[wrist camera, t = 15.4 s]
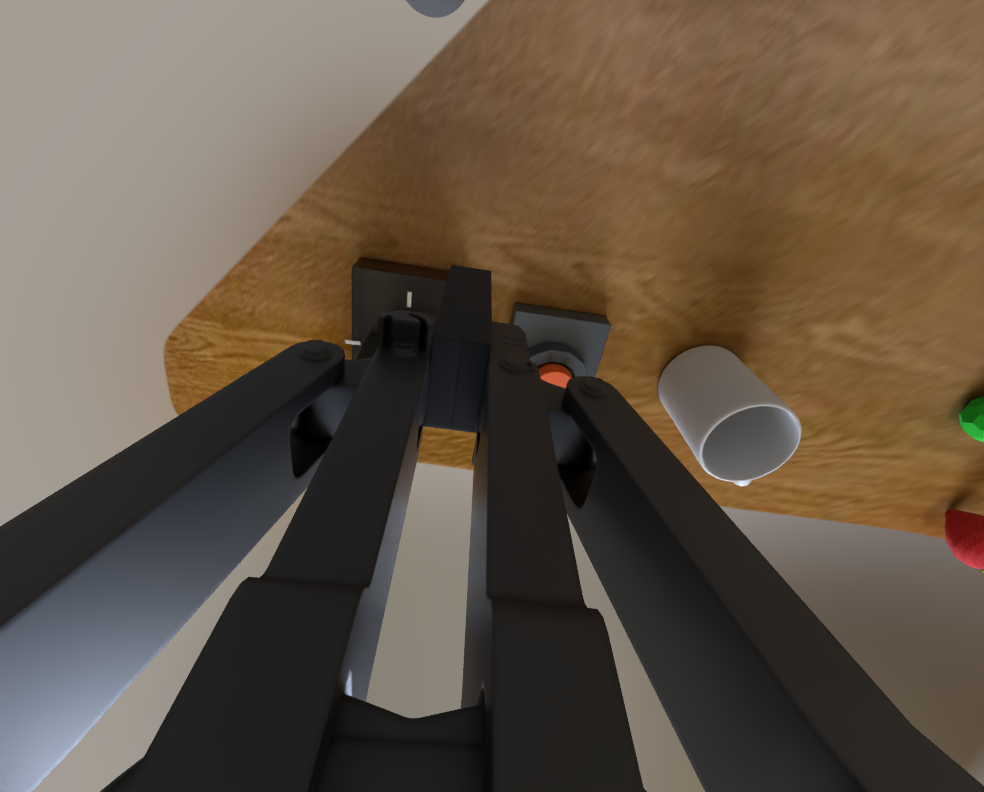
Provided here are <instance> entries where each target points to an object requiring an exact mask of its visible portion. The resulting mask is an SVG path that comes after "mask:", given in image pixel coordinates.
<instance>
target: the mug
mask: <svg viewBox="0 0 984 792" xmlns="http://www.w3.org/2000/svg"><path fill="white" fill-rule="evenodd" d="M658 392H659V397H660V400H661V402H662V404H663V406H664V407H665V409H666V410H667V412H668V413H669V415H670V416H671V418H672V419H673V421H674V423H675V424H676V426H677V427H678V429H679V431H680V432H681V434H682V436H683V437H684V439H685V440H686V442H687V444H688V445H689V447H690V449H691V450H692V452H693V453H694V455H695V457H696V458H697V460H698V462H699V463H700V465H701V466H702V467H703V468H704V470H705V471H706V472H708V473H709V474H710V475H712V476H713V477H715V478H718V479H721V480H724V481H732V482H734V483H735V484H736V485H739V486H746V485H748V484H749V483H750V482H751V480H753V479H756V478H760V477H762V476H765V475H767V474H769V473H771V472H773V471H774V470H776V469H777V468H779V467H780V466H781V465H783V464H784V463H785V462H786V461H787V460H788V459H789V458H790V457H791V456H792V455H793V453H794V452H795V450H796V448H797V447H798V444H799V442H800V438H801V431H802V430H801V424H800V421H799V419H798V417H797V415H796V414H795V413H794V412H793V411H792V410H791V408H789V407H788V406H787V405H786V404H785V403H784V402H783V401H782V400H781V399H780V398H779V397H778V396H777V395H776V394H775V393H774V392H773V391H772V390H771V389H769V388H768V387H767V386H766V385H765V384H764V383H763V382H762V381H761V380H760V379H759V378H758V377H757V376H756V375H755V374H754V373H753V372H752V371H751V370H749V369H748V368H747V367H746V366H745V365H744V364H743V363H742V361H741V360H740V359H739V358H738V357H737V356H735V355H734V354H733V353H732V352H730V351H729V350H727V349H725V348H722V347H718V346H711V345H707V346H699V347H695V348H692V349H689V350H687V351H685V352H683V353H681V354H680V355H678V356H677V357H675V358H674V359H673V360H672V361H671V362H670V363H669V364H668V365H667V366H666V368H665V369H664V371H663V372H662V375H661V377H660V380H659V384H658Z"/></svg>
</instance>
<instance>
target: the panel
mask: <svg viewBox="0 0 984 792" xmlns="http://www.w3.org/2000/svg"><path fill="white" fill-rule="evenodd" d="M449 272H450V271H444V270H438V269H431V268H425V267H418V266H412V265H405V264H399V263H392V262H386V261H379V260H373V259H366V258H360V259H359V260H358V261H357V262H356V263H355V264H354V265H353V266H352V340H348V339H345V343H347V344H352V360H354V359H355V357H356V356H357V354H358V352H359V351H360V349H361V347H362V345H363V344H364V342H365V340H366V338H367V337H368V335H374V336H378V317H379V316H380V315H381V314H383V313H386V312H389V311H398V310H401V311H415V312H421V313H428V314H435V315H438V311H439V308H440V304H441V301H442V297H443V293H444V290H445V286H446V283H447V279H448V275H449Z"/></svg>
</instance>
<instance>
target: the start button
mask: <svg viewBox="0 0 984 792" xmlns="http://www.w3.org/2000/svg"><path fill="white" fill-rule="evenodd" d="M539 372H540V377H541V379H542V380H544V381H546V382H548V383H551V384H554V385H557V386H560V387H563V388H566V385H567V383H568V380H569V379H571V378H572V375H571V373H570V371H569V370H568V369H567V368H566V367H564V366H563V365H560V364H556V363H550V364H545V365H543V366H541V367H539Z"/></svg>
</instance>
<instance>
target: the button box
mask: <svg viewBox="0 0 984 792" xmlns="http://www.w3.org/2000/svg"><path fill="white" fill-rule="evenodd" d="M511 324H512V325H518V326H519V327H520V328H521V329H522V330H523V331H524V332H525V333H526V338H527V344H528V350H529V356H530V360H531V361H532V362H534V363H535V364H536V365H537V367H538V368H539V367H541V366H543V365H545V364H550V363H556V364H560V365H563V366H564V367H566V368H567V369H568V370H569V371H570V373H571V375H572V378H573V377H577V376H587V377H589V376H592V377H595V375H596V372H597V368H598V365H599V362H600V359H601V356H602V352H603V349H604V346H605V343H606V340H607V337H608V333H609V330H610V327H611V324H610V322H609V321H608V319H607V317H606V316H600V315H593V314H587V313H580V312H573V311H567V310H560V309H553V308H547V307H540V306H533V305H527V304H520V303H515V304H514V310H513V315H512V320H511Z"/></svg>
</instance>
